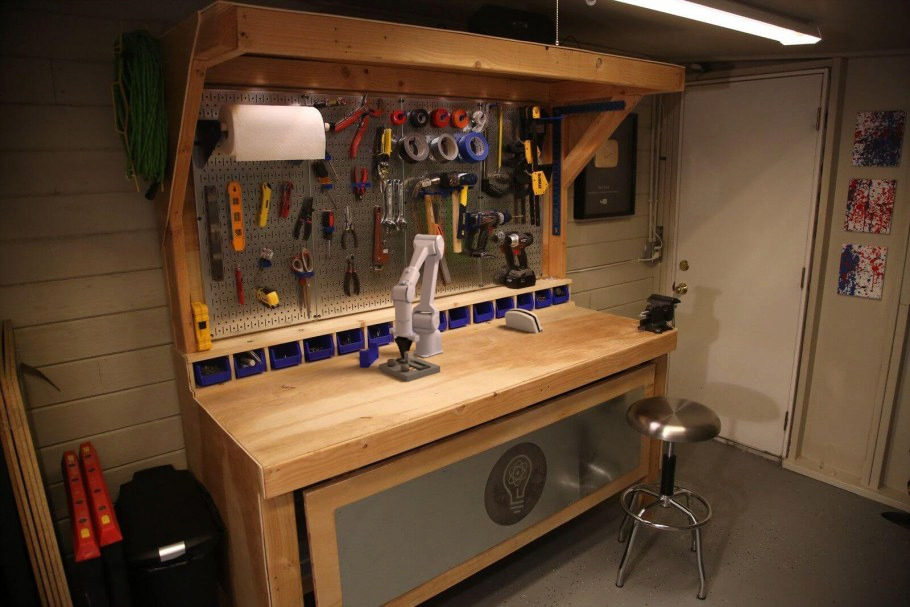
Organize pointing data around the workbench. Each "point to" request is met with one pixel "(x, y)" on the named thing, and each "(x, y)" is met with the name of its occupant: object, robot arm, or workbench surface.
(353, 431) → the workbench surface
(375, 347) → the blue block
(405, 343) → the robot arm
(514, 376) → the workbench surface
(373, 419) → the workbench surface
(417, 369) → the console board
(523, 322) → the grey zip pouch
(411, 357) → the fader tab
